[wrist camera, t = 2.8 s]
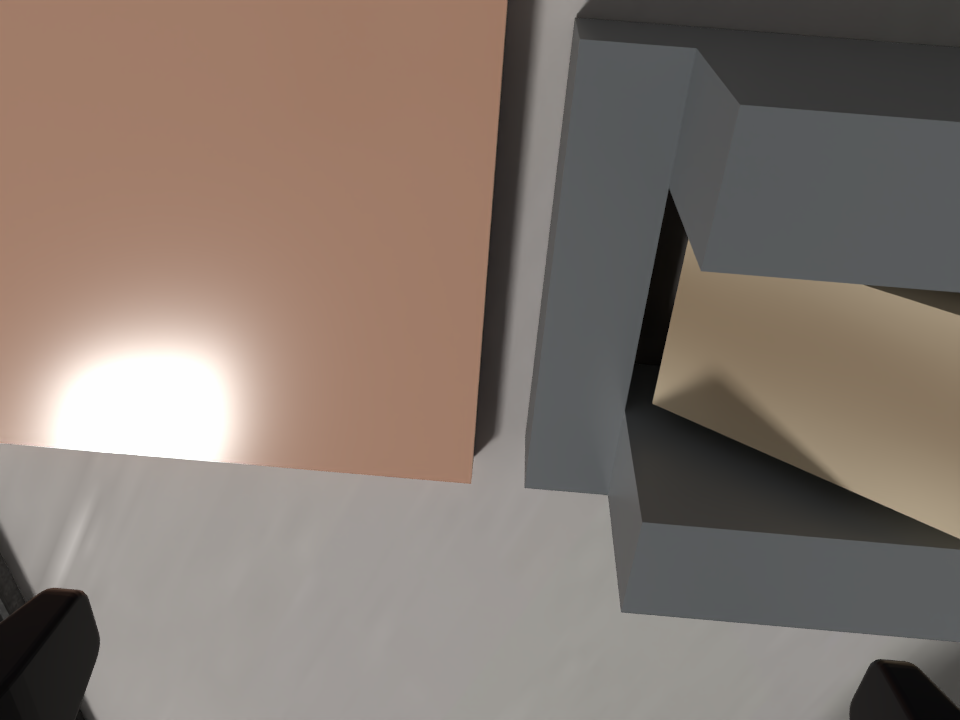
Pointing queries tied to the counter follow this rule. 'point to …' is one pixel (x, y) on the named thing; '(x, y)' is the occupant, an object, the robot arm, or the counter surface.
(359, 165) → the terracotta tile
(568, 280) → the grey hollow block
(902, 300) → the maple bar
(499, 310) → the counter surface
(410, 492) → the counter surface
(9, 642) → the robot arm
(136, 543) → the counter surface
